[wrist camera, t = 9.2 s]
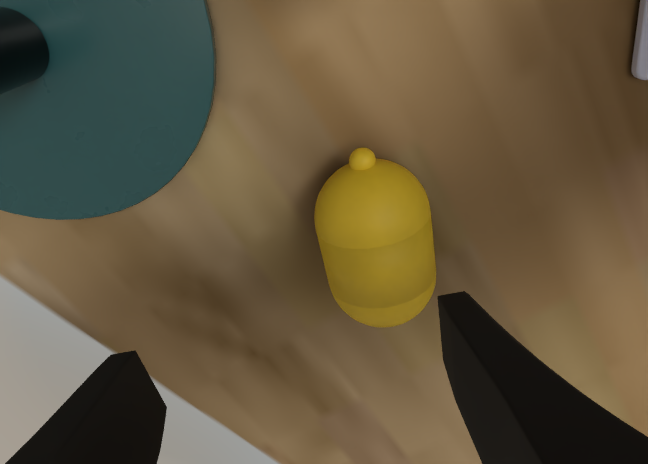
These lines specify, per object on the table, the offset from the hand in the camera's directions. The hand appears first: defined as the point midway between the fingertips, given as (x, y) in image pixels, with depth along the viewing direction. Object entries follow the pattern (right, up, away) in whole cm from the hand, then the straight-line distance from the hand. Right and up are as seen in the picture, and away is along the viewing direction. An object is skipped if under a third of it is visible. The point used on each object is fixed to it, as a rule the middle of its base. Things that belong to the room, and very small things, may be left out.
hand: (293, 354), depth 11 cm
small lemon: (+3, +4, +10) cm, 11 cm away
